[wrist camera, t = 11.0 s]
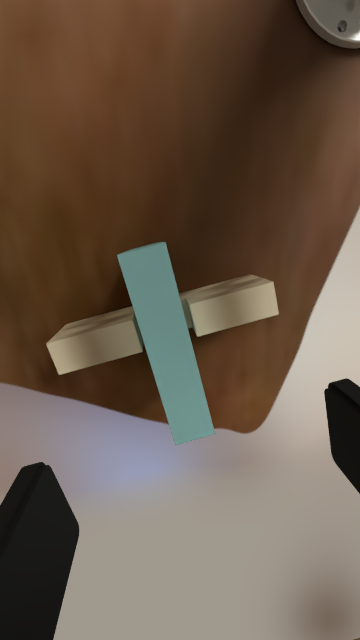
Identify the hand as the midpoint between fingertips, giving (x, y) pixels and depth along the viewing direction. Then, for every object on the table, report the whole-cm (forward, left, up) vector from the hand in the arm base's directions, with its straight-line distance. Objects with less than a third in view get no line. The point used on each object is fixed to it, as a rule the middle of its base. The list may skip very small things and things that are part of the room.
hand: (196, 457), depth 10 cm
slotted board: (0, 0, -22) cm, 22 cm away
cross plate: (0, 0, -22) cm, 22 cm away
